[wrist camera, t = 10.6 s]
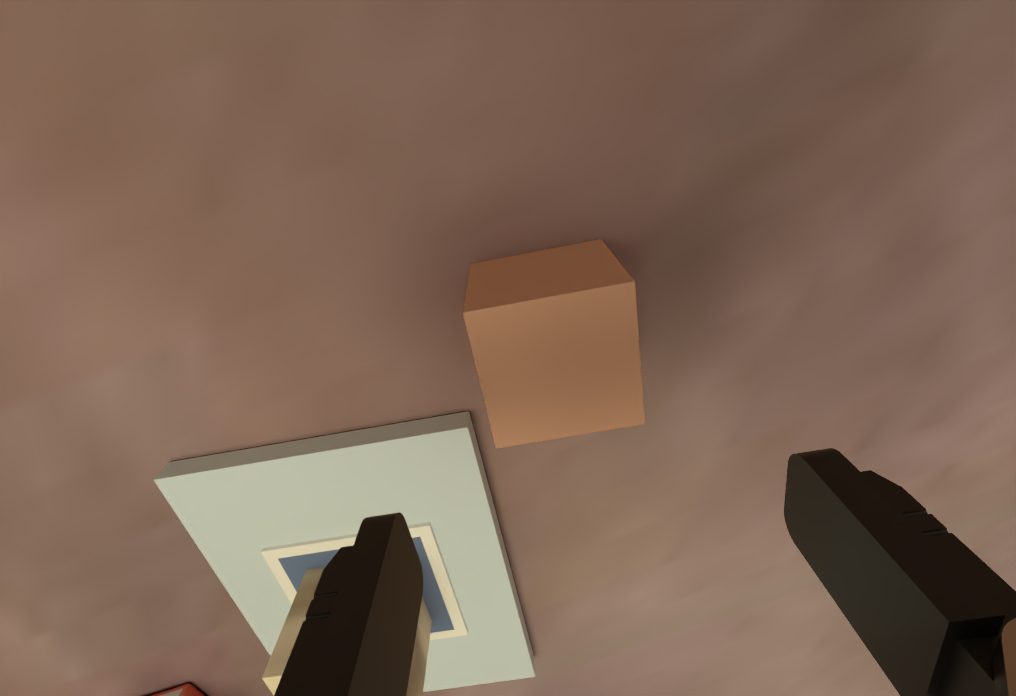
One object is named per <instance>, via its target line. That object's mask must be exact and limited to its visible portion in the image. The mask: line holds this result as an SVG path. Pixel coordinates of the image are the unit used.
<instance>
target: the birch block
mask: <svg viewBox="0 0 1016 696" xmlns="http://www.w3.org/2000/svg"><path fill="white" fill-rule="evenodd" d="M324 568H325V567H321V568H314V569H307V570H306V571H305V574H304V576H303V579H302V581H301V584H300V586H299V589H298V591H297V593H296V596H295V598H294V601H293V603H292V606H291V608H290V611H289V613H288V615H287V618H286V620H285V623H284V625H283V628H282V630H281V633H280V635H279V637H278V640H277V642H276V645H275V647H274V650H273V652H272V655H271V657H270V659H269V662H268V664H267V667H266V669H265V672H264V674H263V677H262V679H263V681H264V682H265V683H266V685H267V686H268V688H269V689H270V691H271V692H272V694H273V695H275V692H276V689H277V687H278V684H279V682H280V679H281V677H282V674H283V672H284V669H285V666H286V664H287V661H288V659H289V656H290V654H291V651H292V649H293V646H294V643H295V641H296V638H297V636H298V633H299V631H300V628H301V626H302V623H303V621H305V620H306V616H305V615H306V613H307V610H308V608H309V605H310V602H311V600H313V599H314V592H315V590H316V587H317V585H318V582H319V579H320V577H321V574H322V572H323V570H324ZM431 624H432V620H431V617H430V615H429V612H428V609H427V607H426V604H425V602H424V599H423V597H422V601H421V607H420V613H419V620H418V626H417V632H416V638H415V644H414V651H413V657H412V663H411V669H410V675H409V681H408V688H407V694H406V696H423V689H424V681H425V673H426V664H427V656H428V648H429V640H430V632H431Z"/></svg>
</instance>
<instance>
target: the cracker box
mask: <svg viewBox="0 0 1016 696" xmlns="http://www.w3.org/2000/svg"><path fill="white" fill-rule="evenodd" d="M151 696H204V695H203V694H202V693H201V692H200V691H199V690H197V689H196V688H195V687H194V686H193V685H191V684H186V685H182V686H179V687H176V688H174V689H170V690H167V691H163V692H160V693H157V694H154V695H151Z"/></svg>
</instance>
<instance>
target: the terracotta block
mask: <svg viewBox="0 0 1016 696" xmlns="http://www.w3.org/2000/svg"><path fill="white" fill-rule="evenodd" d="M463 316H464V320H465V324H466V328H467V332H468V336H469V340H470V345H471V349H472V353H473V357H474V361H475V365H476V369H477V373H478V377H479V381H480V385H481V389H482V393H483V397H484V401H485V405H486V409H487V413H488V418H489V422H490V426H491V430H492V434H493V438H494V442H495V446H496V448H502V447H508V446H514V445H521V444H527V443H533V442H539V441H545V440H551V439H557V438H563V437H569V436H575V435H581V434H587V433H593V432H599V431H605V430H611V429H617V428H623V427H630V426H636V425H642V424H645V414H644V400H643V386H642V373H641V359H640V345H639V331H638V317H637V303H636V290H635V281H634V279H633V278H632V277H631V276H630V274H629V273H628V272H627V271H626V270H625V268H624V267H623V266H622V265H621V263H620V262H619V261H618V260H617V258H616V257H615V256H614V255H613V253H612V252H611V251H610V250H609V248H608V247H607V246H606V245H605V243H604V242H603V241H602V240H601V239H599V240H593V241H588V242H583V243H578V244H572V245H567V246H562V247H556V248H551V249H546V250H541V251H535V252H530V253H525V254H519V255H514V256H509V257H504V258H498V259H493V260H488V261H483V262H477V263H472V264H470V270H469V276H468V282H467V289H466V295H465V301H464V307H463Z"/></svg>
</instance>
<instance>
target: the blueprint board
mask: <svg viewBox="0 0 1016 696" xmlns="http://www.w3.org/2000/svg"><path fill="white" fill-rule="evenodd" d="M154 481H155V483H156V484H157V486H158V487H159V489H160V490H161V492H162V493H163V495H164V496H165V498H166V499H167V501H168V502H169V504H170V505H171V507H172V508H173V510H174V511H175V513H176V514H177V516H178V517H179V519H180V520H181V522H182V523H183V525H184V526H185V528H186V529H187V531H188V533H189V534H190V536H191V537H192V539H193V540H194V542H195V543H196V545H197V546H198V548H199V549H200V551H201V552H202V554H203V555H204V557H205V558H206V560H207V561H208V563H209V564H210V566H211V567H212V569H213V570H214V572H215V573H216V575H217V576H218V578H219V579H220V581H221V582H222V584H223V585H224V587H225V588H226V590H227V591H228V593H229V594H230V596H231V597H232V599H233V600H234V602H235V603H236V605H237V606H238V608H239V609H240V611H241V612H242V614H243V615H244V617H245V618H246V620H247V621H248V623H249V624H250V626H251V627H252V629H253V630H254V632H255V633H256V635H257V636H258V638H259V639H260V641H261V642H262V644H263V645H264V647H265V648H266V650H267V651H268V653H269V654H270V656H271V655H272V652H273V650H274V647H275V645H276V642H277V640H278V637H279V635H280V633H281V630H282V628H283V625H284V623H285V620H286V618H287V615H288V613H289V611H290V608H291V606H292V603H293V601H294V598H295V596H296V593H297V591H298V589H299V586H300V584H301V581H302V579H303V576H304V574H305V571H306V570H307V569H314V568H321V567H326V566H327V564H328V563H329V562H330V561H331V559H332V558H333V557H334V556H335V554H336V553H337V552H338V551H339V549H340V548H341V547H346V546H353V545H354V543H355V540H356V537H357V534H358V531H359V528H360V525H361V523H362V521H363V519H364V518H366V517H372V516H379V515H385V514H392V513H398V512H400V513H402V514H403V516H404V518H405V520H406V523H407V526H408V529H409V531H410V534H411V537H412V540H413V542H414V545H415V548H416V551H417V553H418V556H419V559H420V562H421V566H422V571H423V595H422V597H423V599H424V602H425V604H426V607H427V609H428V612H429V615H430V617H431V620H432V624H431V632H430V640H429V648H428V656H427V664H426V673H425V681H424V689H423V692H426V691H434V690H441V689H448V688H456V687H463V686H471V685H478V684H486V683H493V682H500V681H508V680H515V679H523V678H530V677H535V666H534V655H533V651H532V647H531V643H530V640H529V636H528V632H527V628H526V624H525V621H524V617H523V613H522V609H521V606H520V602H519V598H518V594H517V590H516V587H515V583H514V579H513V575H512V572H511V568H510V564H509V560H508V556H507V553H506V549H505V545H504V541H503V538H502V534H501V530H500V526H499V522H498V519H497V515H496V511H495V507H494V504H493V500H492V496H491V492H490V488H489V485H488V481H487V477H486V473H485V470H484V466H483V462H482V458H481V454H480V451H479V447H478V443H477V439H476V436H475V432H474V428H473V424H472V420H471V417H470V413H469V411H467V412H461V413H456V414H450V415H444V416H438V417H432V418H426V419H420V420H414V421H408V422H402V423H397V424H391V425H385V426H379V427H373V428H367V429H361V430H355V431H349V432H344V433H338V434H332V435H326V436H320V437H314V438H308V439H302V440H296V441H290V442H285V443H279V444H273V445H267V446H261V447H255V448H249V449H243V450H237V451H232V452H226V453H220V454H214V455H208V456H202V457H196V458H190V459H184V460H179V461H173V462H170V463H169V464H168V465H167V466H166V467H165V468H164V469H163V470H162V471H161V472H160V473H159V475H158V476H157V477H156V478H155V479H154Z"/></svg>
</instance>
